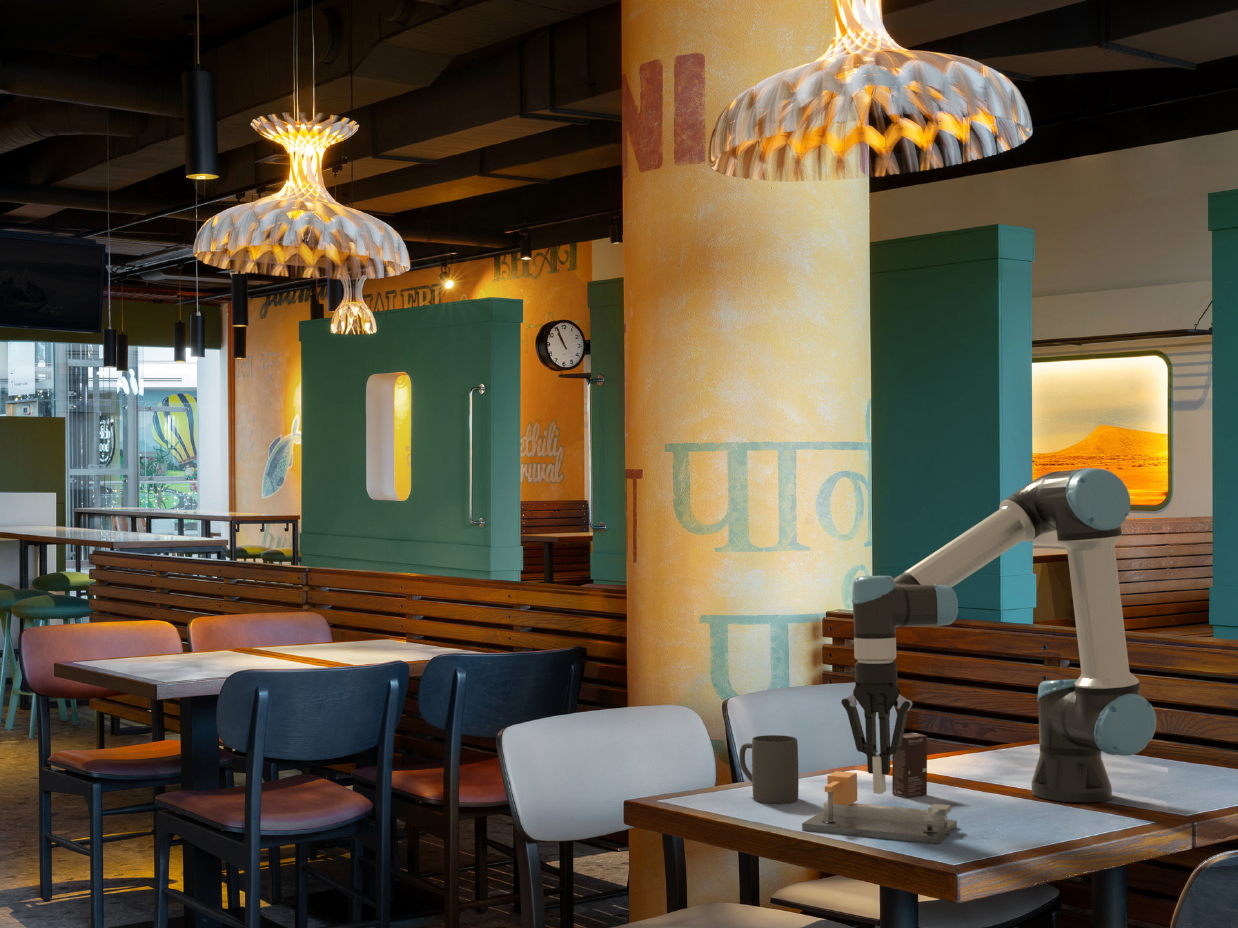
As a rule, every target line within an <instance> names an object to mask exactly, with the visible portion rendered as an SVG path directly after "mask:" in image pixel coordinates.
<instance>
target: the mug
mask: <svg viewBox="0 0 1238 928" xmlns="http://www.w3.org/2000/svg"><path fill="white" fill-rule="evenodd" d="M798 746H799V745H798V738H797V737H794V736H789V735H779V734H777V735H776V734H772V735H771V734H770V735H768V734H767V735H758V736H757V735H756V736H753V737H752V740H751V742H748V743H743V744H742V745H741V747H740V750H739V758H738V759H739V766H740V769H741V770H742V772H743V774H744V775H745V777H746V778H747V779H748V780H749V782H750V783H752V784H751V785H752V798H753V801H756V802H758V803H763V804H771V805H772V804H773V805H785V804H791V803H792V804H793V803H795V802H798V801H799V800H798V799H799V747H798ZM747 749H751V771H750V770H749V769H748V767H747V764H746V751H747Z"/></svg>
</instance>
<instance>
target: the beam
mask: <svg viewBox="0 0 1238 928" xmlns="http://www.w3.org/2000/svg"><path fill="white" fill-rule="evenodd" d="M823 811H824V814H825V815H828V800H827V801H825V802H823ZM951 811H952V805H950V804H941V803H940V804H938V803H933V804H932V805H930V806H929V807H928V808H927V809H922V808H911V807H899V806H890V805H879V804H865V803H856V802H854V803H852V804H851V805H838V804H833V815H836V816H846V817H857V818H867V819H878V820H888V821H899V822H909V823H919V824H927V830H928V831H933V825H940V826H944V825H946V824H947V820H948V814H949V813H950V812H951Z"/></svg>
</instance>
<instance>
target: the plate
mask: <svg viewBox="0 0 1238 928" xmlns="http://www.w3.org/2000/svg"><path fill="white" fill-rule="evenodd" d="M957 825H958V824H957V819H956V820H953V819H947V824H946V825H944V826H940V825H933V831H928V830H927V824H919V823H909V822H899V821H888V820H878V819H867V818H857V817H846V816H836V815H833V820H828V815H825V814H824V810H823V811H820V812H819V813H817V814H815V815H814V816H812V817H811V818H809V819H807V820H805V821H804V822H802V823H801V830H802V831H805V832H806V831H807V832H816V833H825V834H826V833H827V834H834V835H846V836H855V837H864V838H874V839H875V838H876V839H886V840H894V841H902V842H903V841H904V842H915V843H921V844H922V843H925V844H930V845H931V844H934V845H939V843H941V842H942V841H943V840H944V839H945V838H946V837H948V836H949V834H951V833H953V832H954V830H955V829H957Z"/></svg>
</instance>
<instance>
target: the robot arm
mask: <svg viewBox="0 0 1238 928" xmlns="http://www.w3.org/2000/svg"><path fill="white" fill-rule="evenodd" d="M1131 503H1132V502H1131V495H1130V492H1129V490H1128V488H1127V486H1126V484H1125V482H1124V481H1123V480H1122V479H1121V478H1120V477H1118V476H1117V475H1116V474H1115V473H1114V472H1112V471H1110V470H1107V469H1103V468H1093V467H1084V468H1080V469H1079V468H1078V469H1069V470H1059V471H1052V472H1051V471H1050V472H1048V473H1045V474H1043V475H1040V476H1039V477H1038V478H1035V479H1034V480H1032V481H1031V482H1029V483H1027V484H1026V485H1025V486H1023V487H1021V488H1020V489H1018V490H1017V491H1016V492H1015V493H1012V494H1011V495H1010V496H1009V497H1006V498H1005V499H1003V500H1002V501H1001V502H1000V503H999V509H998V510H997V511H995V512H993V513H992V514H990V515H989V516H987V517H986V518H984V519H983V520H982V521H979V522H978V523H977V524H976V525H974V526H971V528H969V529H968V530H966V531H964V532H962V534H960V535H958V536H957V537H956V538H954V539H953V540H951V541H949V542H948V543H946V544H945V545H944V546H942V547H940V548H939V549H937V550H936V551H935V552H933V553H931V554H930V555H928V556H927V557H925V558H923V559H922V560H920V561H919V562H918V563H916V564H914V565H913V566H911V567H910V568H909V569H906V570H905V571H904V572H902V573H901V574H900V575H897V576H896V577H894V578H893V576H891V575H862V576H857V577H855V579H854V580H853V583H852V600H851V602H852V616H853V632H854V633H853V646H854V647H853V648H854V649H853V650H854V651H853V652H854V653H853V655H854V659H855V660H857V661H856V662H855V663H854V682H855V685H854V688H853V690H852V693H851V695H849V696H848V697H845V698H843V699H841V700H840V701H841V705H842V706H843V708H844V709H845V711H846V712H847V716H848V717H847V718H848V721H849V724H850V728H851V729H850V730H851V733H852V736H853V740H854V743H855V748H856V751H858V752H859V753H860V752H861V753H863V754H864V755H865V756H866V760H867V762H866V763H867V765H866V766H867V772H868V774H869V775H870V774H872V784H873V785H872V786H873V787H872V788H873V794H877V795H882V794H883V793H885V792H886V791H887V788H886V786H887V785H886V781H887V780H886V775H887V776H889V774H890V773H891V756H893V754H895V753H897V752H899V751H900V748H901V743H902V738H903V734H905V727H906V723H907V719H908V713H909V712H910V710H911V708H912V707H913V705H914V702H913V700H911V699H907V698H906V697H904V696H903V695H901V690H900V688H899V685H898V666H897V665H898V664H897V663H896V661H894V660H896V659H897V633H896V631H897V628H903V627H936V628H937V627H939V626H949V625H951V624H953V623H954V622H955V621H956V619H957V617H958V614H959V600H958V597H957V596H958V595H957V594H956V592H955V590H954V589H953V587H954V586H956V585H958V584H959V583H960V582H962V581H964V580H965V579H966V578H968V577H969V576H971V575H972V574H974V573H976V572H977V571H979V570H980V569H982V568H983V567H985V566H986V565H988V564H989V563H990V562H992V561H994V560H995V559H997V558H998V557H1000V556H1002V555H1003V554H1004V553H1006V552H1007V551H1009V550H1010V549H1012V548H1013V547H1015V546H1017V545H1018V544H1020V543H1021V542H1026V543H1029V542H1031V541H1033V540H1035V539H1036V538H1039V537H1040V536H1042V535H1044V534H1047V533H1051V532H1056V538H1057V543H1058V544H1060V545H1061V547H1064V548H1065V550H1066V551H1067V559H1068V566H1069V577H1070V585H1071V586H1070V587H1071V593H1072V595H1071V596H1072V600H1073V601H1072V602H1073V611H1074V612H1073V613H1074V620H1075V627H1076V628H1075V629H1076V637H1077V645H1078V654H1079V655H1078V656H1079V664H1080V671H1081V672H1080V676H1079V677H1078V678H1077V679H1074V678H1073V679H1057V680H1056V679H1054V680H1053V679H1052V680H1043V681H1042V682H1040V684H1039V685H1038V690H1037V699H1036V701H1037V706H1038V707H1037V708H1038V709H1037V710H1038V711H1037V712H1038V732H1039V733H1038V734H1039V736H1038V738H1039V739H1038V740H1039V742H1038V743H1039V758H1038V759H1037V763H1036V766H1035V770H1034V772H1033V773H1034V774H1033V776H1032V780H1031V794H1032V795H1033V796H1035V797H1037V798H1041V799H1045V800H1050V801H1057V802H1066V803H1097V802H1098V803H1099V802H1105V801H1108V800H1111V799H1112V798H1113V787H1112V783H1111V781H1110V778H1109V776H1108V775H1109V774H1108V773H1107V770H1106V767H1105V765H1104V761H1103V759H1102V753H1105V754H1107V755H1111V756H1120V757H1121V756H1123V757H1126V756H1129V757H1130V756H1132V755H1135V754H1138V753H1140V752H1141V751H1143V750H1144V749H1145V748H1146V747H1147V746H1148V744H1149V742H1151V741H1152V739H1153V737H1154V735H1155V734H1156V730H1157V729H1156V728H1157V714H1156V711H1155V709H1154V707H1153V705H1152V703H1150V702H1149V701H1148V700H1147V699H1146V698H1145V697H1143V696H1142V694H1141V685H1140V680H1139V678H1137V677H1136V676H1135V674H1133V673H1131V672H1130V665H1129V658H1128V657H1129V655H1128V648H1127V647H1128V646H1127V640H1126V638H1127V637H1126V630H1125V623H1124V622H1125V621H1124V613H1123V605H1122V598H1121V590H1120V589H1121V588H1120V580H1119V571H1118V563H1117V556H1116V545H1117V543H1118V542H1119V541H1120V540H1121V538H1122V537H1123V534H1122V526H1121V525H1123V523H1125V521H1127V518H1126V517H1127V516H1129V514H1130V511H1131ZM858 703H859V705H860V706H861V708H862V709H863V711H864V713H863V714H864V716H863V717H864V720H865V722H864V723H865V734H864V731H863V725H862V723H861V719H860V715H859V711H858V708H857V704H858ZM896 703H897V709H898V711H897V714H896V719H895V724H894V728H893V734H892V737H891V724H890V723H891V722H890V717H891V710H892V709H893V707H894V706H895V705H896ZM877 717H878V720H879V721H878V722H879V723H878V724H879V727H878V728H879V749H880V750H879V751H880V753H879V754H878V752H879V751H878V749H877V722H876V721H877V720H876V719H877ZM891 738H892V739H891Z"/></svg>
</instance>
